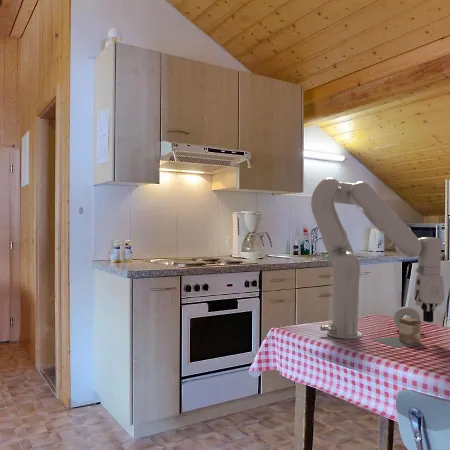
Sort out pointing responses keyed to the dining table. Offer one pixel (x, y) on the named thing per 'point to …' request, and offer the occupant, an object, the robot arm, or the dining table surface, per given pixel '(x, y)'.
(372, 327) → the dining table surface
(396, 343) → the mat
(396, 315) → the donut
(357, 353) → the dining table surface
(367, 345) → the dining table surface
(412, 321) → the tall block
